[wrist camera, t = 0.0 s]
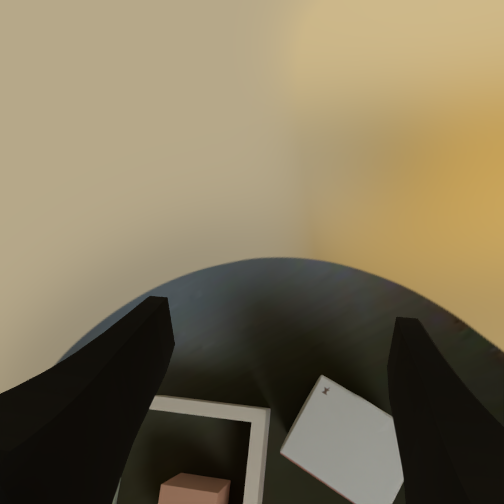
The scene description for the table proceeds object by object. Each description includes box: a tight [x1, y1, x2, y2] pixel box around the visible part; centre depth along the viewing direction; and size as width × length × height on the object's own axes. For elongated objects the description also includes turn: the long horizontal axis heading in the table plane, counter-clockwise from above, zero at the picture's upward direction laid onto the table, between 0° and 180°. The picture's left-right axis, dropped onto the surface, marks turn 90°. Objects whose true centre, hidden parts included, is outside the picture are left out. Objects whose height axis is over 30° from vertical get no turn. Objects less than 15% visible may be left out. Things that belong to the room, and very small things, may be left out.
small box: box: [280, 375, 404, 504], centre depth 36 cm, size 8×6×13 cm
